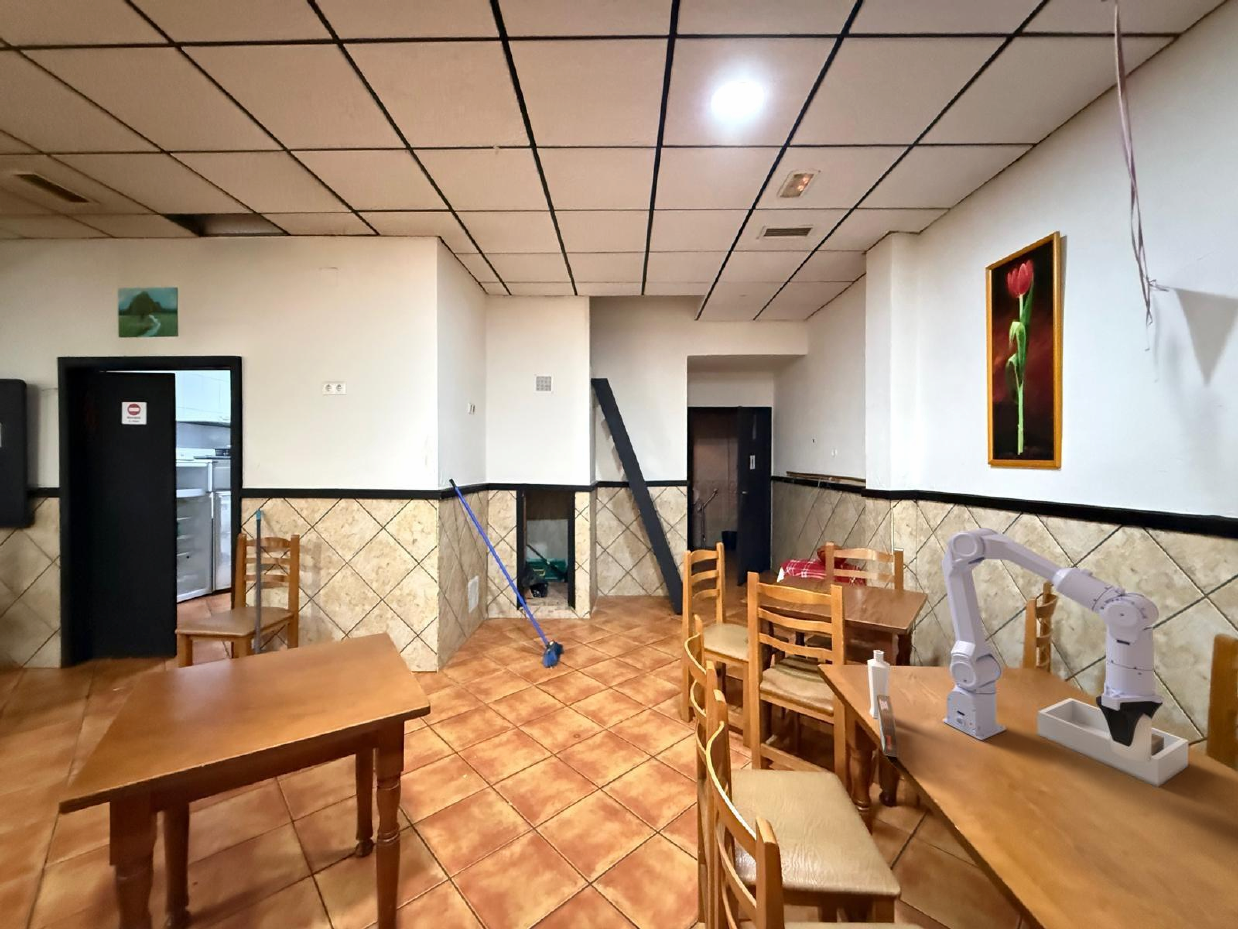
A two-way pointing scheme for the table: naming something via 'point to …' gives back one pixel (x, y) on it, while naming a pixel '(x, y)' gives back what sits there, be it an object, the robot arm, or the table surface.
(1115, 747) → the ceramic cylinder
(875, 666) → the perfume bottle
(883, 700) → the tin
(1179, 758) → the tote
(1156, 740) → the walnut cube
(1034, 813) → the table surface
